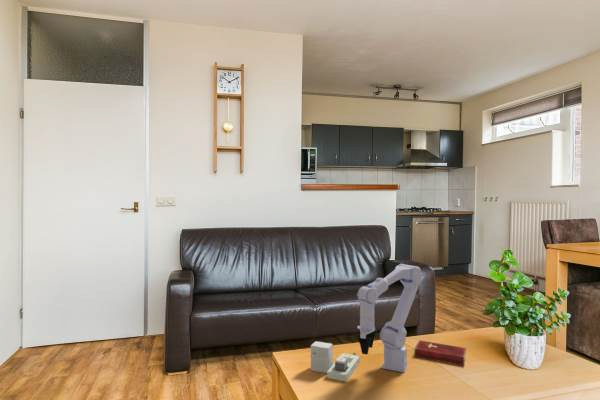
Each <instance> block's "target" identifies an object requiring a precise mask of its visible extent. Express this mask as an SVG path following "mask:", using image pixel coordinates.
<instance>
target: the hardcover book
mask: <svg viewBox="0 0 600 400" xmlns="http://www.w3.org/2000/svg"><path fill="white" fill-rule="evenodd" d="M467 349H468V347H463V346H457V345H451V344H446V343H445V344H444V343H440V342H433V341H427V340H424V339H423V340H421V339H419V340H418V342H417V343H416V345H415V346H414V350H413V354H414V355H413V356H414V357H417V358H418V357H419V358H423V359H429V360H432V361H433V360H434V361H438V360H439V362H443V361H444V362H445V363H448V362H450V363H449V364H454V363H455V365H459V364H461V365H460V366H465V362H466V357H467ZM465 356H466V357H465Z"/></svg>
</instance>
